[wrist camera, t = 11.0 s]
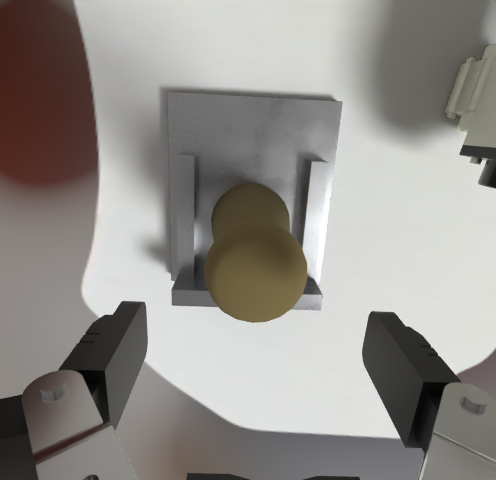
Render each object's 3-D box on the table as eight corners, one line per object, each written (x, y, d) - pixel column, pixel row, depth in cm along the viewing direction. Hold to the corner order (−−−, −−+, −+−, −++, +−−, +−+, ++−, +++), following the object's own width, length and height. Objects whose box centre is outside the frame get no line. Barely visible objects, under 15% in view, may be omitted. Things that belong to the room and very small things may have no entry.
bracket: (170, 93, 24) (153, 84, 19) (338, 102, 25) (362, 96, 20) (173, 275, 28) (160, 305, 24) (316, 280, 29) (331, 310, 24)
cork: (253, 274, 28) (261, 364, 17) (194, 226, 26) (164, 292, 16) (306, 219, 26) (350, 280, 16) (247, 166, 25) (252, 194, 14)
